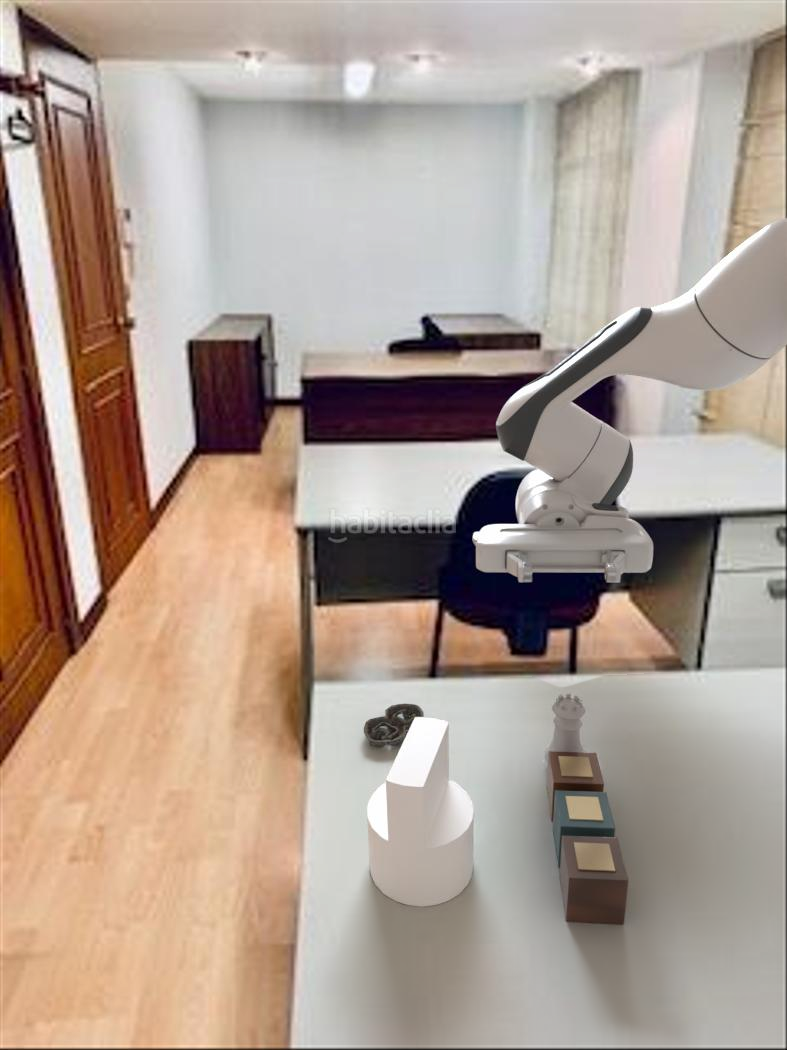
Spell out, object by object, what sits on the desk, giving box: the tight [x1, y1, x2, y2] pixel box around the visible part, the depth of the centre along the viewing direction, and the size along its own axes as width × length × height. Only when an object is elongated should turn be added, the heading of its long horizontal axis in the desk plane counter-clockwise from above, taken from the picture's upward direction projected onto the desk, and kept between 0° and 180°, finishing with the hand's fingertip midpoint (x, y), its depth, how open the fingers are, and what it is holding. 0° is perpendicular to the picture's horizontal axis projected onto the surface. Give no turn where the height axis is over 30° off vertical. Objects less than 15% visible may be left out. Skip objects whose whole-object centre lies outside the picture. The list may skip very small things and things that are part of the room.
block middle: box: [552, 790, 616, 869], centre depth 66 cm, size 4×4×5 cm
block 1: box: [546, 751, 605, 823], centre depth 71 cm, size 4×4×5 cm
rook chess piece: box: [542, 693, 586, 771], centre depth 76 cm, size 4×4×8 cm
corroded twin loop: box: [363, 703, 425, 746], centre depth 84 cm, size 5×8×1 cm, turn 139°
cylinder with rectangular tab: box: [366, 716, 475, 908], centre depth 64 cm, size 9×9×12 cm
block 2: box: [559, 836, 629, 925], centre depth 61 cm, size 4×4×5 cm
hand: (569, 576), depth 83 cm, fingers open, 8 cm apart
